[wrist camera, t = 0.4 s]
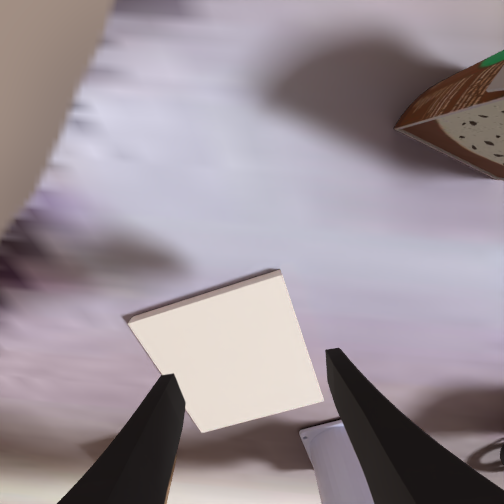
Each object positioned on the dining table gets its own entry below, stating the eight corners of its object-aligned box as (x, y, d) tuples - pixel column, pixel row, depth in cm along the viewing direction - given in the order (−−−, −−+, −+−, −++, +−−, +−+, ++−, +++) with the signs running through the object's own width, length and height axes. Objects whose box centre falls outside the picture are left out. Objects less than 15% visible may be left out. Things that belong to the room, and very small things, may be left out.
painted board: (321, 392, 26) (324, 401, 25) (203, 423, 27) (201, 432, 26) (280, 269, 20) (282, 274, 19) (132, 316, 21) (127, 323, 21)
